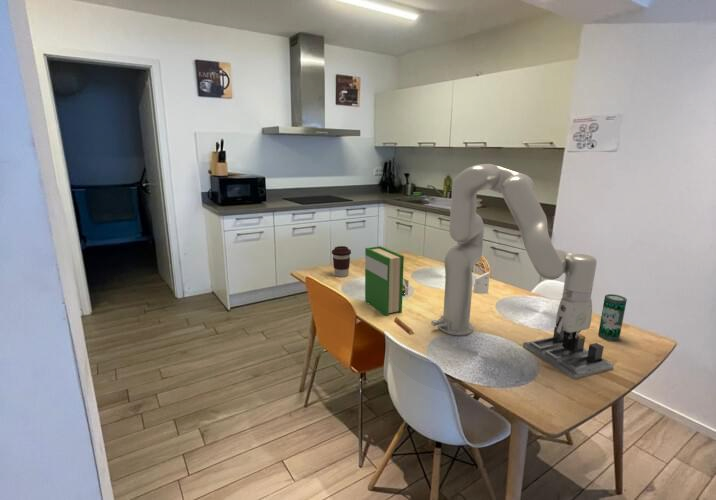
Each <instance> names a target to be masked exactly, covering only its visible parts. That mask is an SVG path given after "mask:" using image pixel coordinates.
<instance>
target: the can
mask: <svg viewBox="0 0 716 500" xmlns="http://www.w3.org/2000/svg"><path fill="white" fill-rule="evenodd" d="M627 301H628V299H627V298H626V297H625V296H622V295H618V294H614V293H613V294H612V293H611V294H605V296H604V300H603V305H602V309H601V316H600V323H599V329H598V333H597V335H598V337H599V338H601V339H602V340H606V341H609V342H617V341H619V340H620V337H621V332H622V327H623V321H624V316H625V310H626V306H627Z"/></svg>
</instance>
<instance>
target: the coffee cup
mask: <svg viewBox="0 0 716 500" xmlns="http://www.w3.org/2000/svg"><path fill="white" fill-rule="evenodd" d="M351 254H352V250H351V249H349V248H348V246H346V245H345V246H344V245H339V246H338V245H337V246H335V247H334V248H333V249H332V250H331V255H333V256H332V263H333V269H334V276H336V277H338V278H345V277H348V276H349V274H350V273H349V271H350V263H351Z"/></svg>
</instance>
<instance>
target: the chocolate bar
mask: <svg viewBox="0 0 716 500" xmlns="http://www.w3.org/2000/svg"><path fill="white" fill-rule="evenodd" d="M393 322H394V323H395V324H396V325H397V326H399V327H400V328H401V329H402V330H403V331H405V332H406V334H408V335H415V332H414V331H413V329H412V328H411V327H410V326H408V324H406V323H404V321H402V320H401V319H400V318H398V317H397V316H395V317H394V321H393Z"/></svg>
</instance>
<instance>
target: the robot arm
mask: <svg viewBox="0 0 716 500" xmlns="http://www.w3.org/2000/svg"><path fill="white" fill-rule="evenodd" d="M486 190H489V191H492V192H496V193H498V194H501V196H502V198H503V199H504V202H505V204H506V205H507V208H508V209H509V211H510V212H511V213H510V214H511V215H512V217H513V219H514V221H515V223H516V225H517V227H518V229H519V232H520V234H519V235H520V237H521V239H522V242H523V245H524V249H525V250H526V253H527V255H528V257H529V259H530V262H531V263H532V265H533V268H534V269H535V271H536V273H537V274H538V275H540V276H539V277H542V278H543V279H546V280H550V281H551V280H557V279H559V278H560V277H562V275H563V274H564V275H565V276H564V284H563V290H562V294H561V295H562V297H561V299H560V302H559V304H558V308H557V312H556V317H555V327H558V329H557V333H559V334H561V335H563V336H564V337H563V344H562V346H563V347H564V348H566V349H567V350H569V351H571V350H574V348H575V342H576V339H575V338H578V335H579V334H581V332H582V331H586V330H589V328H590V327H591V323H592V317H593V316H592V315H593V300H592V291H593V287H594V282H595V281H594V280H595V276H596V275H595V274H596V271H597V270H596V269H597V259H596V258H595V257H594V256H592V255H590V254H584V253H572V252H568V251H565V250H561V249H557V248H556V249H555V247H554V245H553V243H552V240H551V237H550V234H549V229H548V219H547V215H546V213H545V211H544V210H543V207H542V206H541V204H540V202H539V200H538V198H537V196H536V194H535V192H534V190H535V184H534V181H533V179H532V178H531V177H530V176H529V175H527V174H524V173H521V172H519V171H514V170H511V169H508V168H506V167H503V166H499V165H496V164H492V163H482V164H475V165H473V166H468V167H467V168H465V169H464V170H462V171H461V172H460V173H458V175H457V176H456V177H455V179H454V181H453V183H452V188H451V202H450V214H449V234H450V237H451V239H452V240H453V241H455V242H456V245H455V246H452V248H450V249H449V250H448V252H446V254H445V257H444V271H445V272H444V274H445V275H444V276H445V277H444V279H445V280H444V281H445V282H444V299H443V310H442V311H443V312H442V313H443V315H440V317H439V318H438V319H435V320H431V321H430V322H431V325H432V327H436V326H437V327H438V329H439V330H440V331H442V332H443V333H445V334H448V335H452V336H467V335H470V334H472V333H473V331H474V325H473V324H472V322H470V319H471V306H472V295H473V267H475V265H477V264H478V263H479V261H481V258H482V256H483V249H484V247H483V245H484V233H485V232H484V231H485V225H484V221H483V218H482V217H481V215H480V214H478V213H477V205H478V203H477V195H478V193H479V192H481V191H486Z"/></svg>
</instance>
